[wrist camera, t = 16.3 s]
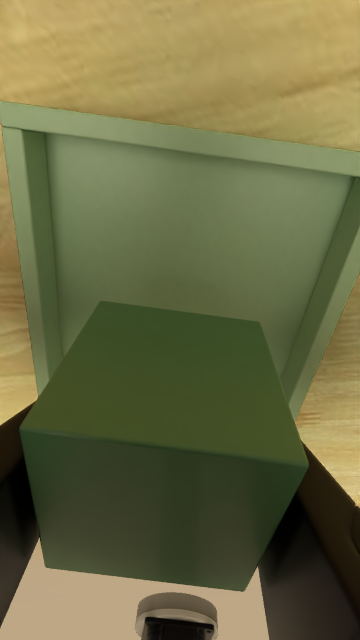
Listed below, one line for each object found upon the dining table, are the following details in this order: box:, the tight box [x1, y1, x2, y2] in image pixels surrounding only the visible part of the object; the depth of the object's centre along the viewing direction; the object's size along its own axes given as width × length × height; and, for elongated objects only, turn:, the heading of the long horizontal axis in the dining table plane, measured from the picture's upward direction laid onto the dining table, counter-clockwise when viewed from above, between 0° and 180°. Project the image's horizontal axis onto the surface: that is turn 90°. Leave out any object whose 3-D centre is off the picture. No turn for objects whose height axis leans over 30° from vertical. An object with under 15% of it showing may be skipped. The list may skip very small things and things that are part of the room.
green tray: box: [0, 100, 360, 422], centre depth 12 cm, size 11×11×2 cm
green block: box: [19, 301, 309, 592], centre depth 8 cm, size 4×4×4 cm
